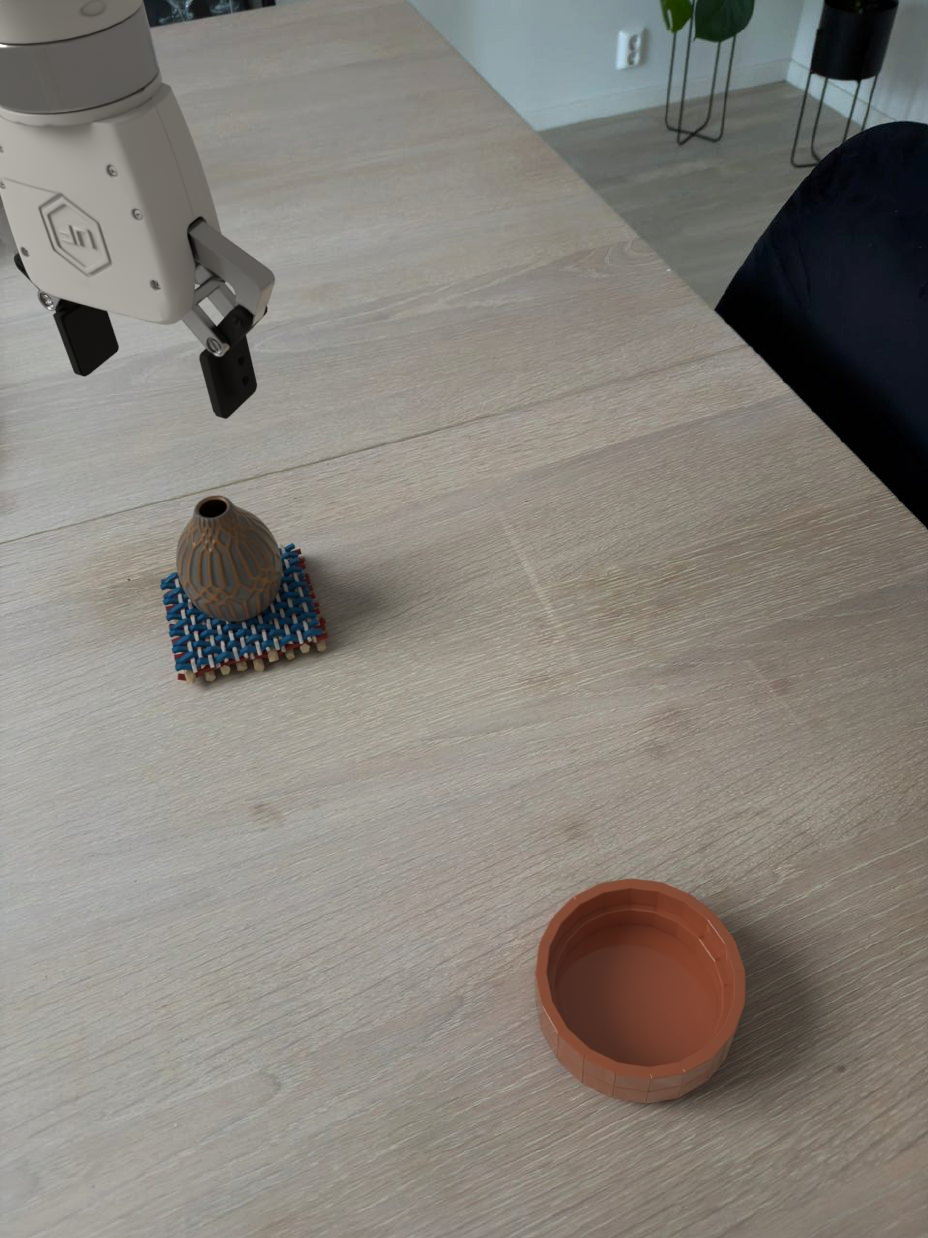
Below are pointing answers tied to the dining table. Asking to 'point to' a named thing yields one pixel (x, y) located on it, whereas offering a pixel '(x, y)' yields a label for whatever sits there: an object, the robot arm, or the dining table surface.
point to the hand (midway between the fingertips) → (165, 382)
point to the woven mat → (245, 626)
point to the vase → (228, 561)
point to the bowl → (639, 990)
